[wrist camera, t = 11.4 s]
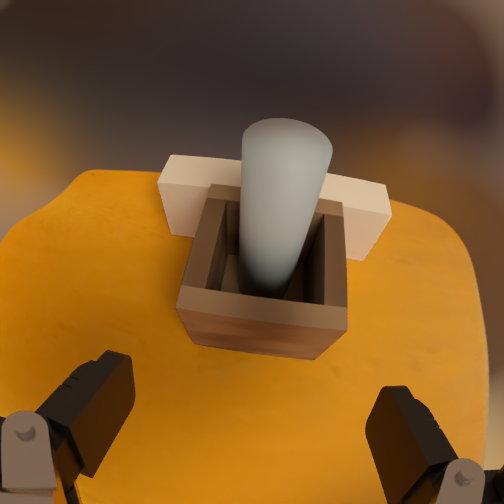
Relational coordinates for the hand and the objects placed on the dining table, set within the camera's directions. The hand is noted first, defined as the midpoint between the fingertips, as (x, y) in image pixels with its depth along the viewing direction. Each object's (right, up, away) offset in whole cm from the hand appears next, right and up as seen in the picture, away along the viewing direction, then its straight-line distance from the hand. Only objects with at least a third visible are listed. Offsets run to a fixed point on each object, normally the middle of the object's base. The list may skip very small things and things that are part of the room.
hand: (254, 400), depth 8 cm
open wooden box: (+1, +1, +13) cm, 13 cm away
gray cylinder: (+1, +2, +13) cm, 13 cm away
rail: (+1, +6, +16) cm, 17 cm away
